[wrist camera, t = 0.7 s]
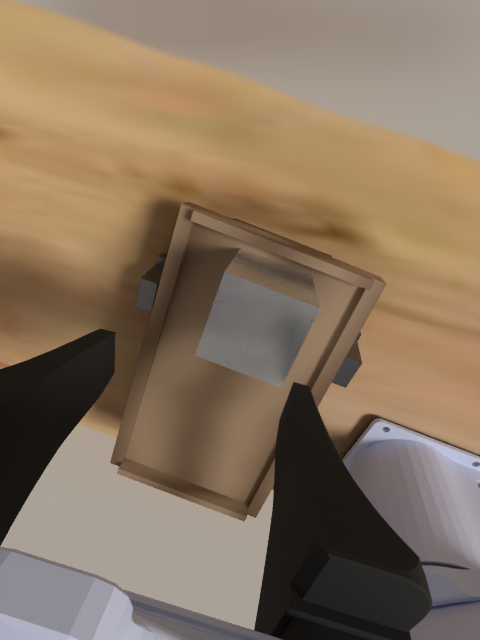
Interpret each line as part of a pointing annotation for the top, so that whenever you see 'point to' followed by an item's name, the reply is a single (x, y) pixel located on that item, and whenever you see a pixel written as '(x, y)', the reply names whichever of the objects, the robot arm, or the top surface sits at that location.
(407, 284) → the top surface
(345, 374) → the beam stand
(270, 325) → the block
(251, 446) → the balance beam
